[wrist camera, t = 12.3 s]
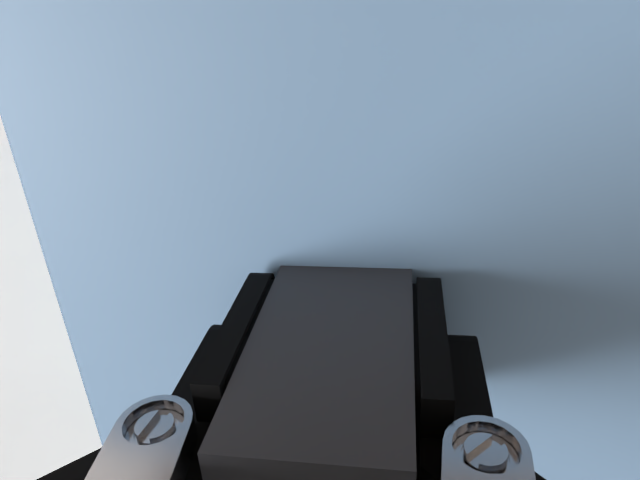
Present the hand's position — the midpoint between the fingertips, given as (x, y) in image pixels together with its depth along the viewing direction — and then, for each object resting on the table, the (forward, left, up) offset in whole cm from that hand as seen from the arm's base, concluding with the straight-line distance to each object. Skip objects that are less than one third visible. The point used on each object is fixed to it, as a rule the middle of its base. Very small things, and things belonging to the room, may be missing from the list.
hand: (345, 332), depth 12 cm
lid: (0, 0, -1) cm, 1 cm away
